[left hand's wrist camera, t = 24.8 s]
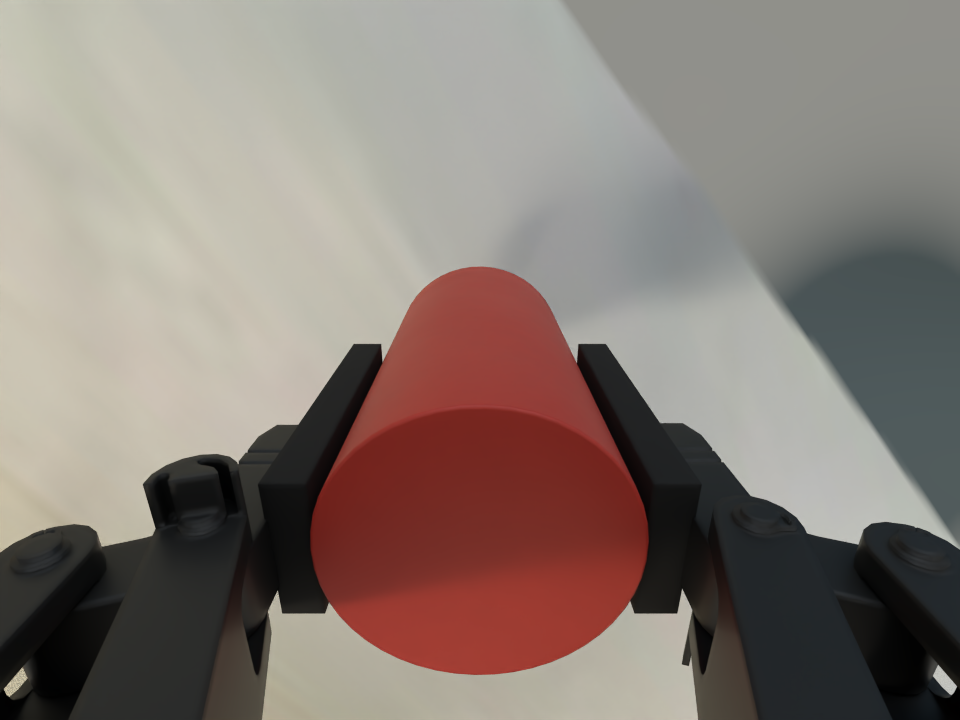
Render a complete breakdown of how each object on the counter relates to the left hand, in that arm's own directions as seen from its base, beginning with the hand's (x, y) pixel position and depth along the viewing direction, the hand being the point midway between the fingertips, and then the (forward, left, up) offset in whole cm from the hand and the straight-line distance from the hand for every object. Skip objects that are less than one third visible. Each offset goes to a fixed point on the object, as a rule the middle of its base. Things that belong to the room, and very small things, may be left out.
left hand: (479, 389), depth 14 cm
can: (0, 0, -4) cm, 4 cm away
